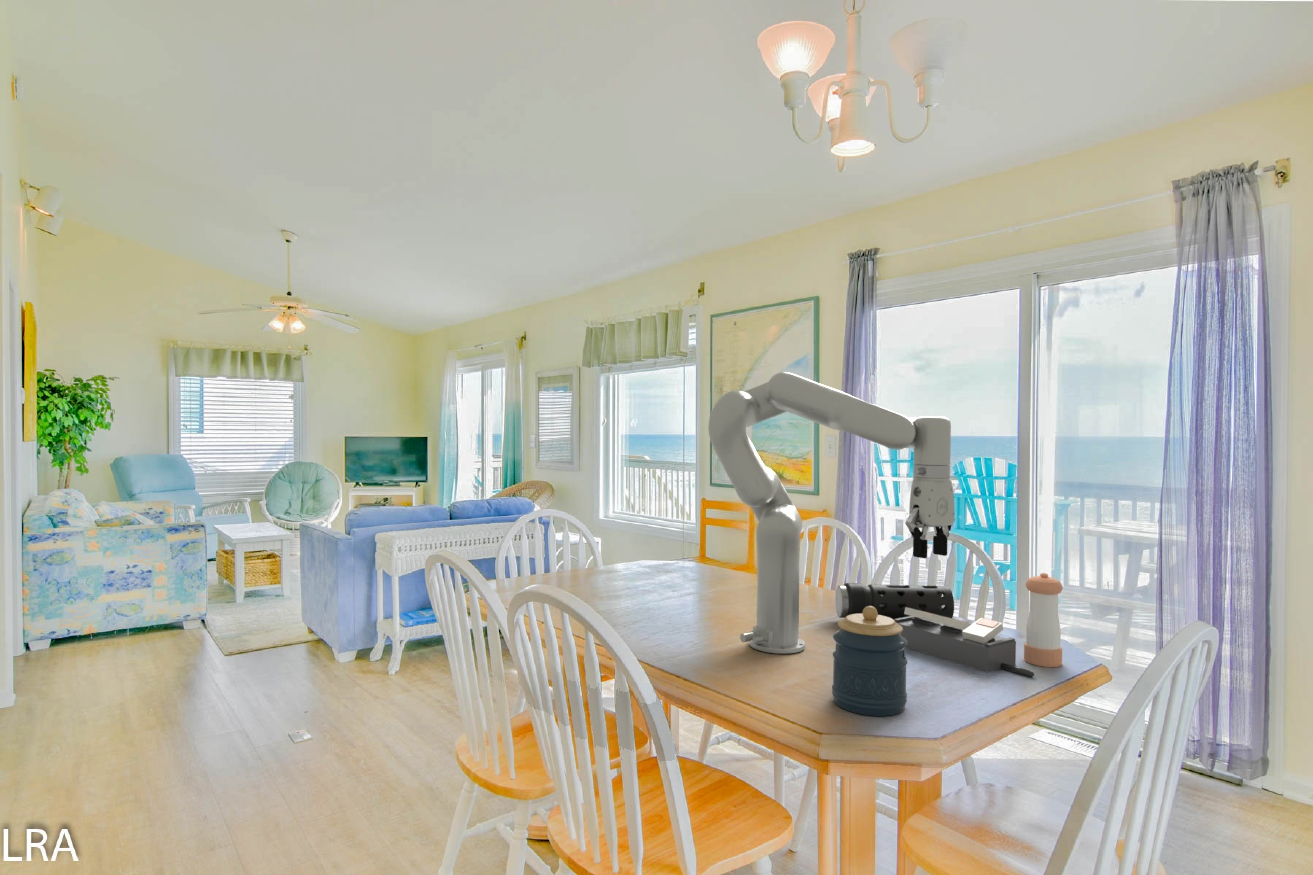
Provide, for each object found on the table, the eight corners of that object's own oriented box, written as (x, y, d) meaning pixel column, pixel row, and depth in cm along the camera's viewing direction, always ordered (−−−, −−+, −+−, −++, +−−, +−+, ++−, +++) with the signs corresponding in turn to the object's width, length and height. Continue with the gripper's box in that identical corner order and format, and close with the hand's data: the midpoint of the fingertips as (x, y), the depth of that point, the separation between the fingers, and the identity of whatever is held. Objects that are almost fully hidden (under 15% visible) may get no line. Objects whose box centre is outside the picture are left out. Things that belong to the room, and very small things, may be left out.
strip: (1019, 682, 144) (1020, 653, 144) (892, 643, 170) (892, 618, 170) (1047, 673, 150) (1047, 645, 150) (919, 637, 175) (920, 613, 175)
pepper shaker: (1023, 663, 156) (1025, 574, 156) (1024, 654, 162) (1025, 569, 162) (1062, 669, 152) (1064, 577, 152) (1061, 659, 159) (1063, 572, 159)
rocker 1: (922, 618, 165) (923, 610, 165) (904, 613, 169) (905, 606, 169) (940, 623, 168) (942, 616, 169) (922, 618, 173) (923, 611, 173)
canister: (833, 687, 140) (835, 595, 139) (905, 695, 136) (906, 601, 136) (829, 712, 127) (831, 611, 127) (908, 721, 123) (909, 617, 123)
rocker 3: (984, 643, 152) (983, 636, 152) (963, 638, 157) (961, 630, 156) (1003, 629, 156) (1002, 622, 156) (981, 624, 160) (980, 617, 160)
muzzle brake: (954, 629, 183) (955, 588, 183) (842, 627, 184) (843, 586, 184) (940, 620, 193) (941, 581, 193) (834, 618, 193) (834, 579, 193)
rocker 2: (951, 626, 158) (953, 618, 159) (931, 620, 163) (933, 613, 163) (970, 631, 162) (971, 623, 162) (950, 626, 166) (951, 618, 167)
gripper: (920, 475, 150) (919, 562, 150) (971, 473, 160) (969, 555, 160) (891, 473, 156) (889, 556, 156) (941, 471, 166) (939, 550, 166)
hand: (930, 555), depth 158 cm, fingers open, 6 cm apart
